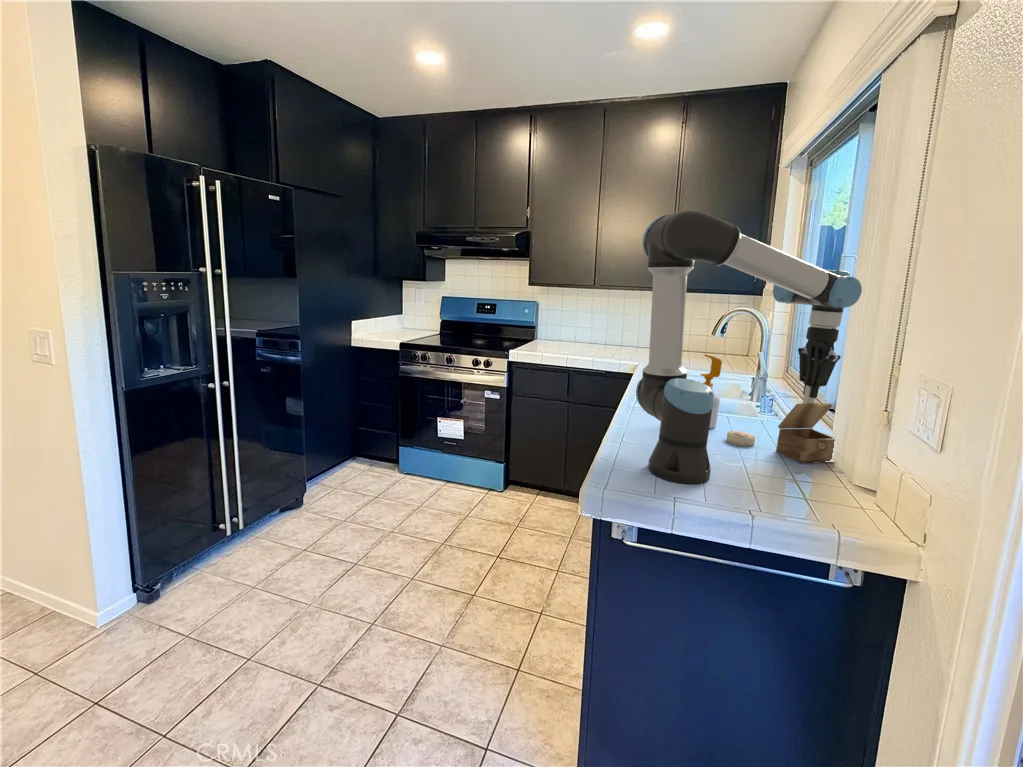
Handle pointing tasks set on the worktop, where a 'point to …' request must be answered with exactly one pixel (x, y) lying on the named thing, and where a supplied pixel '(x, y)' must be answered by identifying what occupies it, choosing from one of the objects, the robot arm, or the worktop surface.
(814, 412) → the lid
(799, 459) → the chest
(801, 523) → the worktop surface
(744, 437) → the domed cap
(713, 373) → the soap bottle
